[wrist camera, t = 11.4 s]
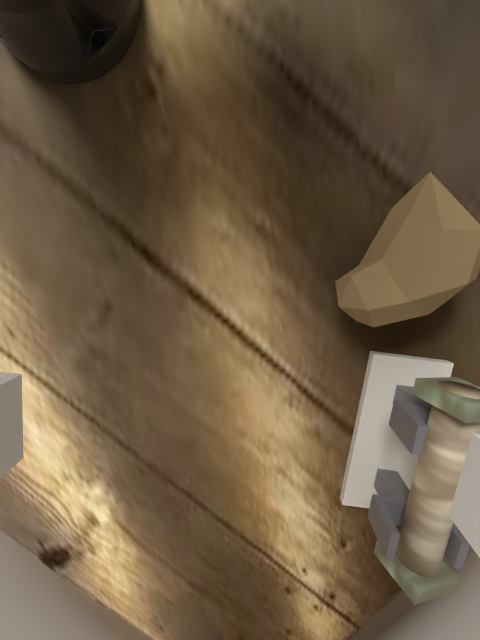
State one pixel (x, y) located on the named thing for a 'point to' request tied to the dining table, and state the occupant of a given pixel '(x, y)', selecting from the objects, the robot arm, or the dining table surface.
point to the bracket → (392, 446)
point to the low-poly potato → (413, 259)
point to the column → (434, 490)
